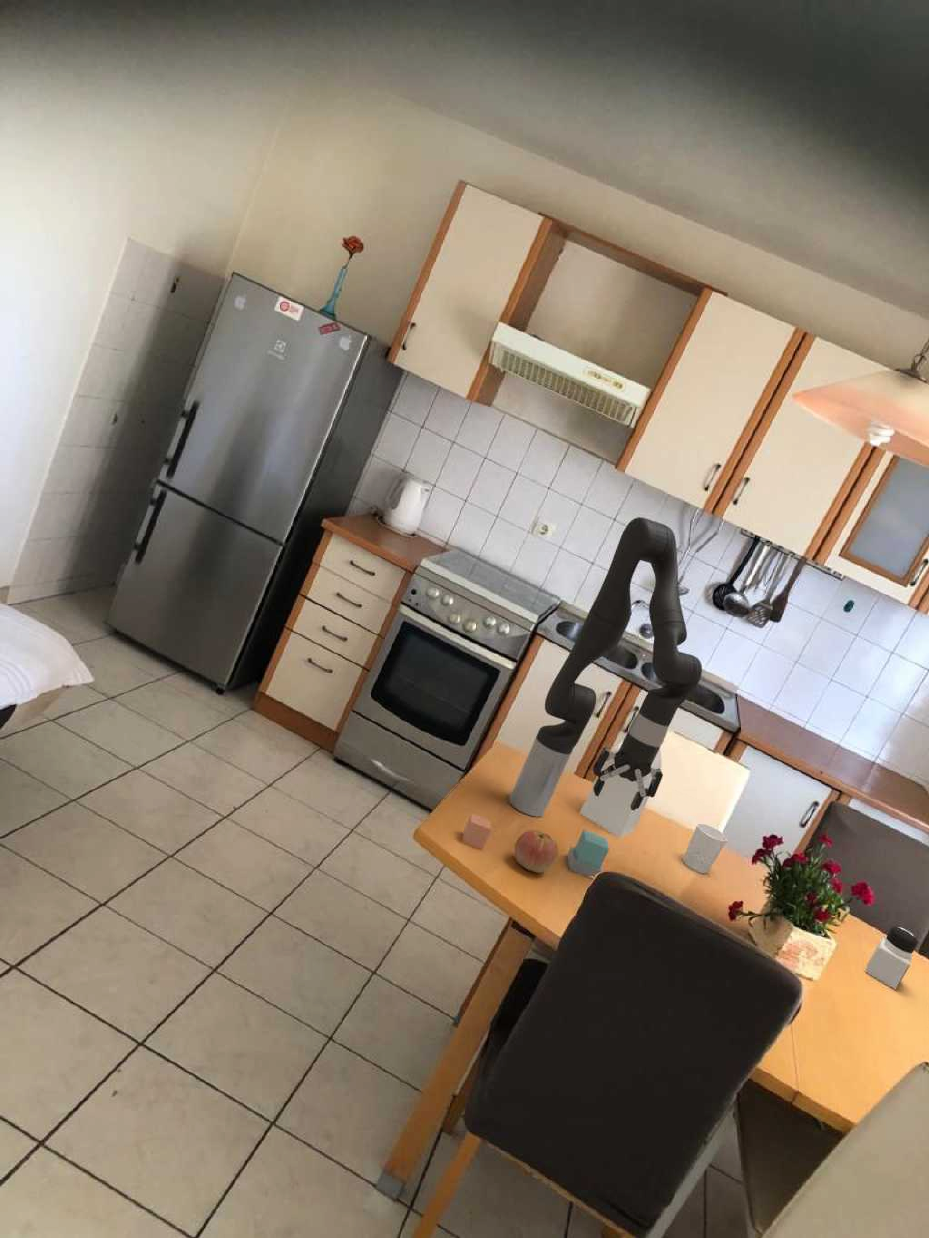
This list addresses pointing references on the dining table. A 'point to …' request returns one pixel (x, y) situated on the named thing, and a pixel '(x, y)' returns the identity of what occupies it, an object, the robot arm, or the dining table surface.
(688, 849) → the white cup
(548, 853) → the apple
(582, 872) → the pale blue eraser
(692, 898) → the dining table surface
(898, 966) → the medicine bottle
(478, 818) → the brick terracotta
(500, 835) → the dining table surface
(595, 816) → the milk
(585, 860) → the brick teal
